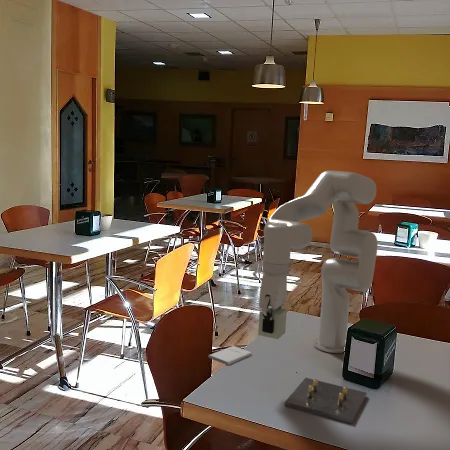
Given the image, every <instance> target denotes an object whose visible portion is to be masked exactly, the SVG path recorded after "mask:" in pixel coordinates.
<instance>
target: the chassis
mask: <svg viewBox="0 0 450 450" xmlns="http://www.w3.org/2000/svg"><path fill="white" fill-rule="evenodd" d="M367 394H368V392H366V391H362V390H357V389H355V388H349V387H348V386H341V385H338V384H333V383H329V382H325V381H322V380H321V381H320V380H318V379H316V378H315V379H313V378H309V377H305V378H304V379H303V380H302V381H301V383H300V384H299V385H298V386H297V387H296V389H294V391H293V392H292V393H291V394H290V396H289V397H288V398H287V399H286V400H285V402H284V406H285V407H288V408H290V409H295V410H297V411H298V410H299V411H302V412H305V413H309V414H314V415H317V416H319V417H324V418H328V419H331V420H335V421H339V422H343V423H346V424H350V425H353V423H354V421H355V420H356V417H357V415H358V413H359V412H360V410H361V408H362V406H363V404H364V402H365V400H366V399H367V396H368V395H367Z"/></svg>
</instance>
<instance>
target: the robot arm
mask: <svg viewBox="0 0 450 450" xmlns="http://www.w3.org/2000/svg"><path fill="white" fill-rule="evenodd" d="M376 197H377V184H376V182H375V181H374V180H373V179H372V178H371V177H367V176H365V175H362V174H360V173H357V172H353V171H352V172H351V171H342V170H341V171H340V170H325V171H323V172H321V173H320V174H319V175H318V176H317V178H316V179H315V180H314V181H313V183H312V184H311V186H309V188H308V189H307V190H306V192H305V193H304V194H303V195H302V196H298V197H297V198H295V199H292V200H289V201H288V202H285V203H284V204H282V205H280V206H279V207H277V208H276V210H274V212H273V213H272V214H271V215H270V217H269V218H268V219H267V220H266V223H265V224H264V227H263V236H264V238H263V239H264V240H263V252H262V253H263V255H262V270H261V272H262V273H263V275H262V278H261V282H260V283H261V284H260V289H259V291H260V292H259V301H258V307H259V308H261V310H262V314H263V325H262V331H263V332H266V333H271V334H272V333H273V331H274V320H273V316H274V311H275V309H277V308H280V309H284V304H285V303H286V299H287V289H288V287H287V286H288V280H287V279H288V277H287V276H288V275H289V274H290V265H291V263H290V261H291V250H292V249H297V250H298V249H304V248H306V247H307V246H309V245H310V244H311V242H312V240H313V236H314V235H313V229H312V228H311V227H310V225H308V224H307V223H304V222H301V221H305V220H306V221H307V220H310V219H316V218H319V217H322V216H324V214H325V213H326V212H327V211H328V209H329V208H330V206H332V209H333V218H332V219H333V220H332V227H331V234H330V241H329V242H330V243H329V244H330V245H329V248H330V250H331V252H333V253H334V254H337V255H341V256H346V257H351V258H357V260H358V261H356V260H350V259H344V258H339V257H332V258H328V259H326V260H324V262H323V263H322V266H321V270H320V271H321V272H320V274H321V275H320V276H321V284H322V285H321V286H322V287H321V288H322V293H321V304H320V314H319V315H320V317H319V326H318V327H319V328H318V329H319V330H318V338H315V339H314V341H313V346H314V347H315V348H316V349H318V350H319V351H323V352H327V353H329V354H330V353H332V354H343V352H344V347H345V340H346V341H347V335H346V333H347V332H348V322H349V313H350V299H351V298H350V296H349V294H348V291H347V289H348V290H352V291H358V292H366V291H368V290H369V289H370V288H371V286H372V283H373V278H374V273H375V267H376V260H377V254H378V247H379V243H378V238H377V235H376V234H375V233H374V232H371V231H369V230H363V229H359V221H360V212H359V209H358V207H357V206H356V204H360V205H361V204H362V205H368V204H371V203H372V202H373V201H374V200H375V198H376ZM299 221H300V222H299ZM269 306H270V307H272V308H268V307H269ZM268 310H270V311H271V315H270V312H268ZM347 334H348V333H347ZM344 353H345V352H344Z"/></svg>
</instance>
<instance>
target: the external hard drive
mask: <svg viewBox="0 0 450 450" xmlns="http://www.w3.org/2000/svg"><path fill="white" fill-rule="evenodd" d="M252 355H253V354H252V351H249V350H247V349H243V348H240V347H238V346H235V345H232V346H229V347H227V348H225V349H221V350H218V351H216V352H213V353H212V354H208V359H210V360H213V361H216V362H219V363H221V364H224V365H225V366H230V365H232V364H234V363H236V362H239V361H242V360H243V359H246V358H249V357H250V356H252Z"/></svg>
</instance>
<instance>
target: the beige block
mask: <svg viewBox="0 0 450 450" xmlns="http://www.w3.org/2000/svg"><path fill="white" fill-rule="evenodd" d="M268 308H272V307H271V306H269V307H268ZM268 312H270V315H271V311H270V310H268ZM287 312H288V309H284V308H283V309H280V308H277V309H275V311H274V316H273V320H274V331H273V333H272V334H271V333H266V332H263V331H262V325H263V314H262V309H261V310H260V311H259V315H258V332H257V334H258V335H257V336H261V337H266V338H269V339H275V340H279V339H280V338H281V337H282V336H283V335H285V334H286V327H287V326H286V325H287Z"/></svg>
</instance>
